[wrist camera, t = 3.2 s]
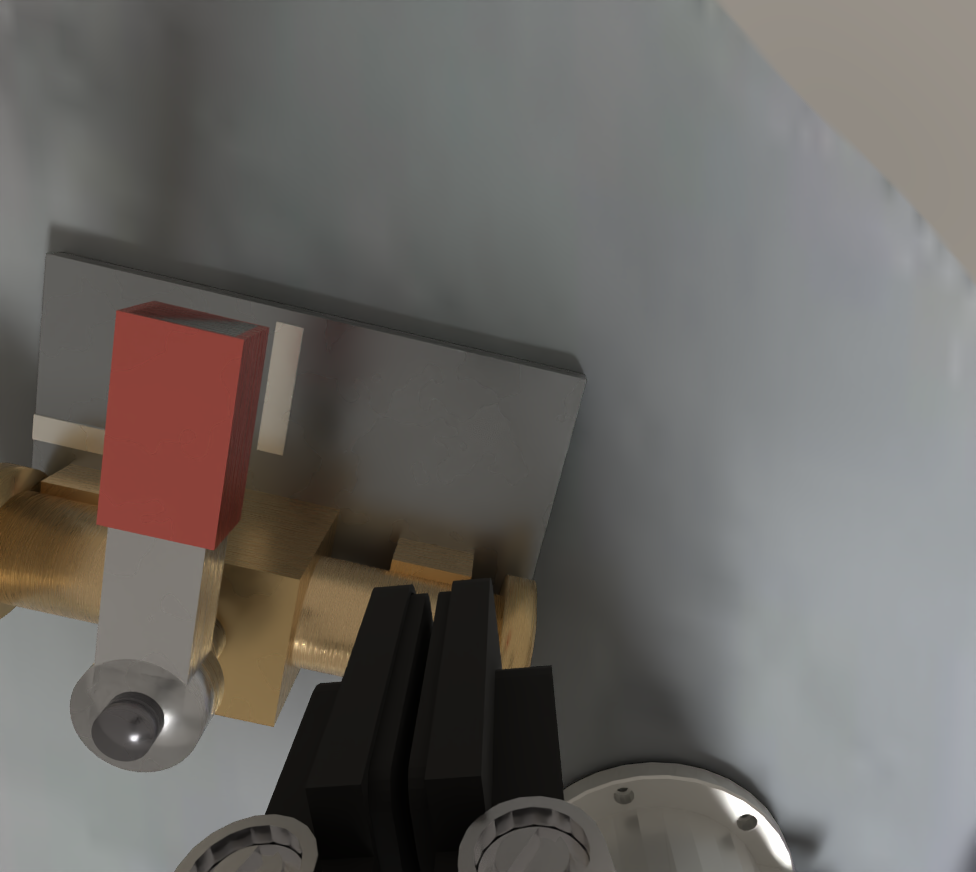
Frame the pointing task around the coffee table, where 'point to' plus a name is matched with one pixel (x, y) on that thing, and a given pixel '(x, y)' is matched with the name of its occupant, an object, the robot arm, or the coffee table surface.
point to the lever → (167, 528)
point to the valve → (302, 477)
